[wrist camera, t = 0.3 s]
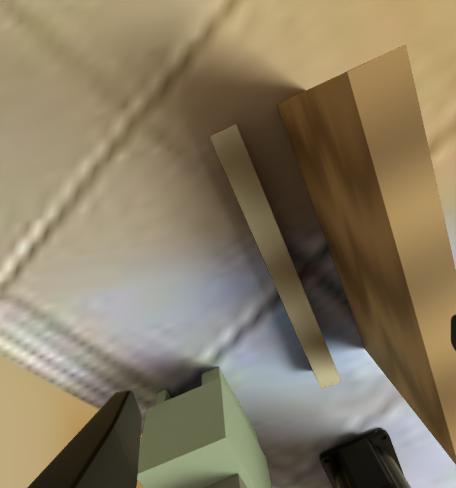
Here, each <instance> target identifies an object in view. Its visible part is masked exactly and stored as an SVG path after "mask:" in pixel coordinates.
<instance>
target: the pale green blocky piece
mask: <svg viewBox="0 0 456 488" xmlns="http://www.w3.org/2000/svg"><path fill="white" fill-rule="evenodd" d="M137 480H138V481H139V482H140V484H141V485H142V486H143V488H272V484H271V479H270V474H269V469H268V465H267V460H266V457H265V455H264V453H263V451H262V450H261V448H260V446H259V442H258V437H257V433H256V432H255V430H254V428H253V426H252V425H251V423H250V421H249V419H248V417H247V416H246V414H245V412H244V410H243V409H242V407H241V405H240V403H239V401H238V400H237V398H236V396H235V394H234V393H233V391H232V389H231V387H230V385H229V384H228V382H227V380H226V378H225V377H224V375H223V373H222V371H221V369H220V368H219V367H217V368H215V369H212V370H210V371H208V372H205V373H203V374H202V386H200V387H197V388H195V389H193V390H190V391H188V392H186V393H183V394H181V395H179V396H176V397H174V398H172V397H171V396H170V394H169V393H168V391H167V390H163V391H161V392H159V393H157V398H156V403H155V406H153V407H151V408H148V409H147V412H146V417H145V423H144V428H143V433H142V438H141V443H140V450H139V464H138V476H137Z"/></svg>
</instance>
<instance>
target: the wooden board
mask: <svg viewBox="0 0 456 488" xmlns="http://www.w3.org/2000/svg"><path fill="white" fill-rule="evenodd" d="M277 106H278V109H279V112H280V114H281V117H282V120H283V123H284V125H285V128H286V131H287V134H288V137H289V139H290V142H291V145H292V148H293V150H294V153H295V156H296V159H297V161H298V164H299V167H300V170H301V173H302V175H303V178H304V181H305V184H306V186H307V189H308V192H309V195H310V198H311V200H312V203H313V206H314V209H315V211H316V214H317V217H318V220H319V222H320V225H321V228H322V231H323V234H324V236H325V239H326V242H327V245H328V247H329V250H330V253H331V256H332V258H333V261H334V264H335V267H336V270H337V272H338V275H339V278H340V281H341V283H342V286H343V289H344V292H345V295H346V297H347V300H348V303H349V306H350V308H351V311H352V314H353V317H354V319H355V322H356V325H357V328H358V331H359V333H360V336H361V339H362V342H363V344H364V347H365V350H366V351H367V352H368V353H369V355H370V356H371V357H372V359H373V360H374V361H375V362H376V364H377V365H378V366H379V367H380V369H381V370H382V371H383V372H384V374H385V375H386V376H387V378H388V379H389V380H390V381H391V383H392V384H393V385H394V386H395V388H396V389H397V390H398V392H399V393H400V394H401V395H402V397H403V398H404V399H405V400H406V402H407V403H408V404H409V406H410V407H411V408H412V409H413V411H414V412H415V413H416V414H417V416H418V417H419V418H420V419H421V421H422V422H423V423H424V425H425V426H426V427H427V428H428V430H429V431H430V432H431V433H432V435H433V436H434V437H435V439H436V440H437V441H438V442H439V444H440V445H441V446H442V447H443V449H444V450H445V451H446V452H447V454H448V455H449V456H450V458H451V459H452V460H453V461H454V463H455V464H456V351H455V350H454V348H453V346H452V344H451V318H452V316H453V315H456V269H455V265H454V260H453V256H452V251H451V247H450V242H449V238H448V233H447V229H446V224H445V220H444V215H443V211H442V206H441V202H440V197H439V193H438V188H437V184H436V179H435V174H434V170H433V165H432V161H431V156H430V152H429V147H428V143H427V138H426V134H425V129H424V125H423V120H422V116H421V111H420V107H419V102H418V98H417V93H416V89H415V84H414V80H413V75H412V71H411V66H410V62H409V57H408V53H407V48H406V44H405V45H403V46H401V47H399V48H397V49H395V50H393V51H390V52H388V53H386V54H384V55H382V56H380V57H377V58H375V59H373V60H371V61H369V62H367V63H365V64H362V65H360V66H358V67H356V68H354V69H352V70H349V71H347V72H345V73H343V74H341V75H339V76H337V77H334V78H332V79H330V80H328V81H326V82H324V83H321V84H319V85H317V86H315V87H313V88H311V89H309V90H306V91H304V92H302V93H300V94H298V95H296V96H294V97H292V98H289V99H287V100H285V101H283V102H281V103H279V104H277ZM209 137H210V139H211V141H212V144H213V146H214V148H215V151H216V153H217V155H218V157H219V160H220V162H221V164H222V166H223V169H224V171H225V173H226V175H227V178H228V180H229V182H230V185H231V187H232V189H233V191H234V194H235V196H236V198H237V200H238V203H239V205H240V207H241V210H242V212H243V214H244V216H245V219H246V221H247V223H248V225H249V228H250V230H251V232H252V234H253V237H254V239H255V241H256V244H257V246H258V248H259V250H260V253H261V255H262V257H263V259H264V262H265V264H266V266H267V268H268V271H269V273H270V275H271V278H272V280H273V282H274V284H275V287H276V289H277V291H278V293H279V296H280V298H281V300H282V302H283V305H284V307H285V309H286V312H287V314H288V316H289V318H290V321H291V323H292V325H293V327H294V330H295V332H296V334H297V336H298V339H299V341H300V343H301V346H302V348H303V350H304V352H305V355H306V357H307V359H308V361H309V364H310V366H311V368H312V370H313V373H314V375H315V377H316V379H317V381H318V383H319V385H320V387H321V389H324V388H326V387H329V386H331V385H333V384H336V383H338V382H341V380H340V377H339V375H338V372H337V370H336V367H335V365H334V362H333V360H332V358H331V355H330V353H329V350H328V348H327V345H326V343H325V340H324V338H323V335H322V333H321V331H320V328H319V326H318V323H317V321H316V318H315V316H314V313H313V311H312V309H311V306H310V304H309V301H308V299H307V296H306V294H305V291H304V289H303V287H302V284H301V282H300V279H299V277H298V274H297V272H296V269H295V267H294V265H293V262H292V260H291V257H290V255H289V252H288V250H287V247H286V245H285V243H284V240H283V238H282V235H281V233H280V230H279V228H278V225H277V223H276V221H275V218H274V216H273V213H272V211H271V208H270V206H269V203H268V201H267V198H266V196H265V194H264V191H263V189H262V186H261V184H260V181H259V179H258V176H257V174H256V172H255V169H254V167H253V164H252V162H251V159H250V157H249V154H248V152H247V150H246V147H245V145H244V142H243V140H242V137H241V135H240V132H239V130H238V128H237V125H236V124H235V125H232V126H230V127H228V128H226V129H224V130H222V131H220V132H218V133H216V134H213V135H211V136H209Z"/></svg>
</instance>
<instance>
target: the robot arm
mask: <svg viewBox="0 0 456 488" xmlns="http://www.w3.org/2000/svg"><path fill="white" fill-rule="evenodd" d="M451 344H452V346H453V348H454V350H455V351H456V315H453V316H452V318H451ZM140 436H141V413H140V410H139V407H138V405H137V402H136V399H135V397H134V394H133V392H132V391H131V390H125V391H120V392H117V393H115V394H114V395H113V396H112V397H111V398H110V399H109V400H108V401H107V403H106V404H105V405H104V406H103V407H102V408H101V409H100V410H99V411H98V412H97V413H96V414H95V415H94V417H93V418H92V419H91V420H90V421H89V422H88V423H87V424H86V425H85V426H84V428H82V429H81V431H80V432H79V433H78V434H77V435H76V436H75V437H74V438H73V439H72V440H71V441H70V442H69V443H68V445H67V446H66V447H65V448H64V449H63V450H62V451H61V452H60V453H59V454H58V455H57V457H56V458H55V459H54V460H53V461H52V462H51V463H50V464H49V465H48V466H47V467H46V468H45V469H44V470H43V471H42V473H41V474H40V475H39V476H38V477H37V478H36V479H35V480H34V481H33V482H32V483H31V484H30V486H29V487H28V488H136V485H137V476H138V464H139V450H140ZM319 458H320V461H321V464H322V466H323V468H324V470H325V472H326V474H327V476H328V478H329V480H330V482H331V484H332V486H333V488H411V487H410V485H409V484H408V482H407V480H406V479H405V477H404V474H403V472H402V469H401V466H400V464H399V461H398V458H397V456H396V453H395V450H394V447H393V445H392V442H391V439H390V437H389V435H388V433H387V432H386V431H385V430H379V431H377V432H374V433H372V434H370V435H367V436H365V437H362V438H360V439H357V440H355V441H352V442H350V443H347V444H345V445H342V446H340V447H337V448H335V449H333V450H330V451H328V452H325V453H323V454H321V455H320V457H319Z"/></svg>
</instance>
